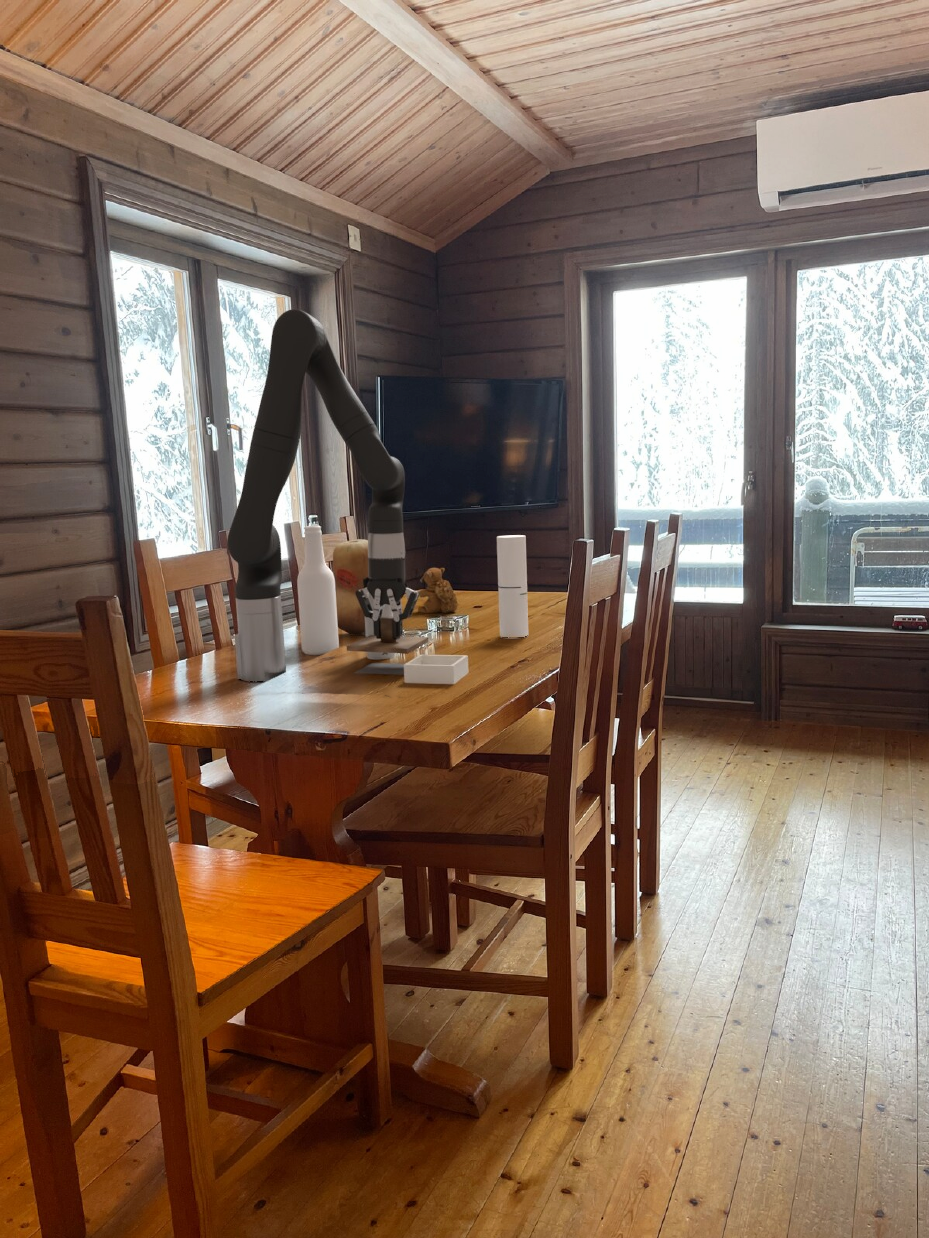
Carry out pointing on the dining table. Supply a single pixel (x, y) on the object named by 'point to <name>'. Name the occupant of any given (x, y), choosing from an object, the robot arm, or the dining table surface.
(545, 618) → the dining table surface
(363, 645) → the lid
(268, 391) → the robot arm
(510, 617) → the cylindrical container
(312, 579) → the alcohol
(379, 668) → the mat
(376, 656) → the travel mug
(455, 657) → the dish
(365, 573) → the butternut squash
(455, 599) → the stuffed squirrel
